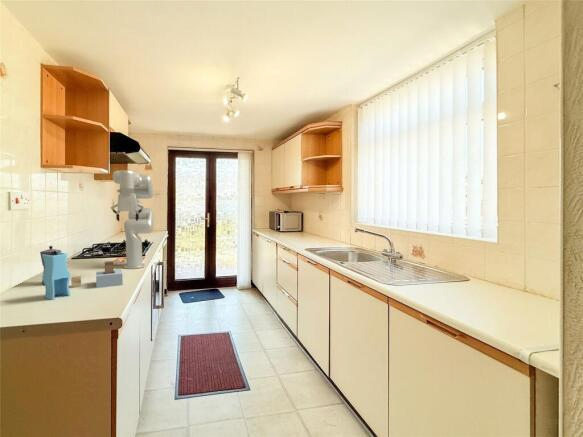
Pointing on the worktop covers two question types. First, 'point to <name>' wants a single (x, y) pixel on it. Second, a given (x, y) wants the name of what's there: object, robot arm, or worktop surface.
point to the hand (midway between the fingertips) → (127, 220)
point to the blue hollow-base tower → (56, 275)
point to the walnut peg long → (108, 267)
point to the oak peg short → (76, 281)
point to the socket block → (108, 279)
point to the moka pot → (51, 253)
